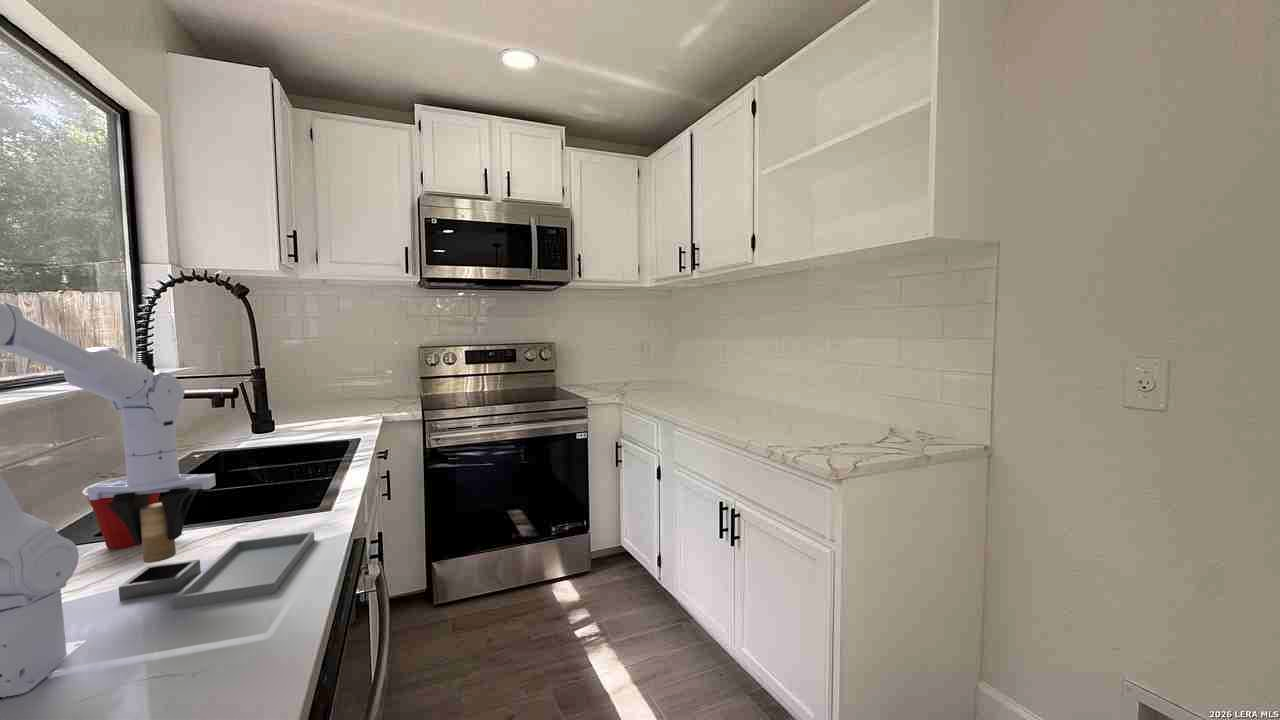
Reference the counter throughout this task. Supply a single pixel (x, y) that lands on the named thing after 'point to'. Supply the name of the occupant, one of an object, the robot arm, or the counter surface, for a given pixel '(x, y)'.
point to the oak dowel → (155, 534)
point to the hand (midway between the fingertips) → (158, 539)
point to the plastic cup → (114, 519)
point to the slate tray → (246, 570)
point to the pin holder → (159, 580)
